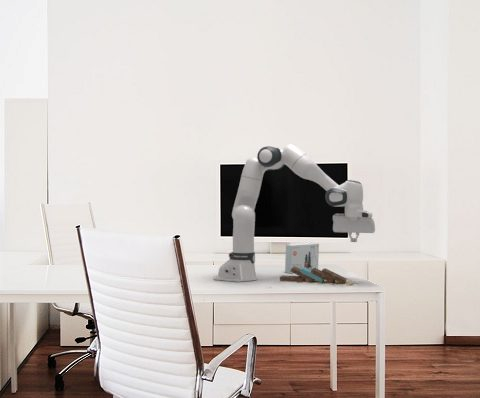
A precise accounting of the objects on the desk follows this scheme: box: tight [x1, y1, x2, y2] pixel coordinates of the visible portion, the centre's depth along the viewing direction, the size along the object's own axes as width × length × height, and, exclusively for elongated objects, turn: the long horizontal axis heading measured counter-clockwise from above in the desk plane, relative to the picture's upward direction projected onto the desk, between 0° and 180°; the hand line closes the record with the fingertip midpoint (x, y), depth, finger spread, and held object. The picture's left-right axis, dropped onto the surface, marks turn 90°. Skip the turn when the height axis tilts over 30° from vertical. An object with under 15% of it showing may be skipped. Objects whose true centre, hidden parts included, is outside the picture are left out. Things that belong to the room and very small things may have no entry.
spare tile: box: [300, 267, 324, 283], centre depth 318 cm, size 2×6×12 cm
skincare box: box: [284, 242, 320, 274], centre depth 360 cm, size 21×5×16 cm, turn 126°
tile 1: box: [321, 268, 347, 284], centre depth 315 cm, size 2×6×12 cm
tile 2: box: [310, 268, 336, 283], centre depth 316 cm, size 2×6×12 cm
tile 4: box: [290, 267, 315, 282], centre depth 320 cm, size 2×6×12 cm
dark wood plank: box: [279, 274, 306, 283], centre depth 321 cm, size 2×6×12 cm
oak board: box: [296, 280, 355, 286], centre depth 316 cm, size 27×12×1 cm, turn 71°
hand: (353, 241), depth 311 cm, fingers closed
